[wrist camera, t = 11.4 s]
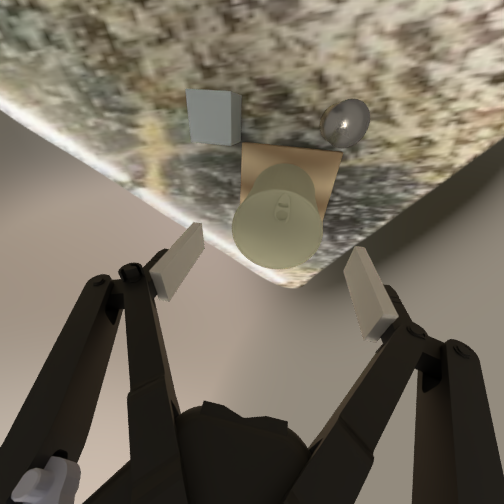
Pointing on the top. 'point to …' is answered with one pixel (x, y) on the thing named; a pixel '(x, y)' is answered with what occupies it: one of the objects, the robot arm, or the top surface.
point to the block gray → (214, 116)
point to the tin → (345, 123)
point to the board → (310, 160)
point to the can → (279, 219)
